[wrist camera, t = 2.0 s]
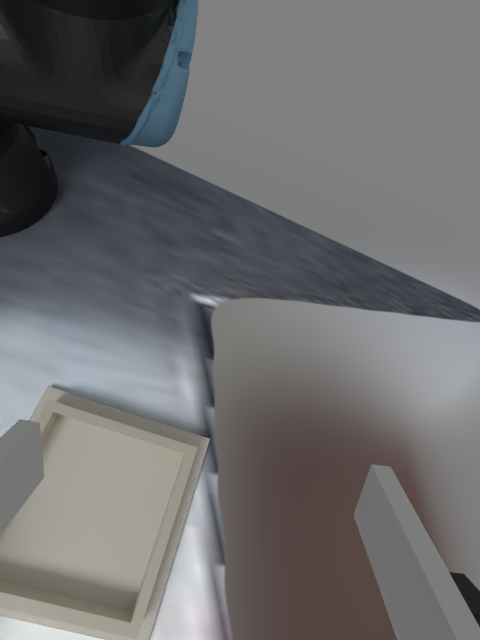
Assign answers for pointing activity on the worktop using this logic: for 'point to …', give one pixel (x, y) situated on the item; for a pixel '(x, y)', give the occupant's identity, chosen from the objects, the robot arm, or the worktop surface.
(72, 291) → the worktop surface
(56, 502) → the square tray
